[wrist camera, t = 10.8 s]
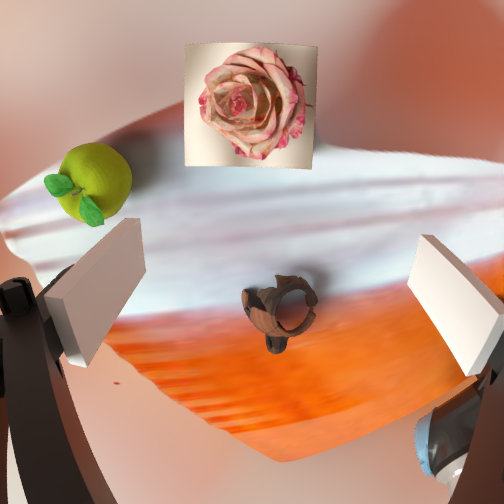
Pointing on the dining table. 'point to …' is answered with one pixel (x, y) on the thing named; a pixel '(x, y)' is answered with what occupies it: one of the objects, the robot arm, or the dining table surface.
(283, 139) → the flower
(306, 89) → the pedestal
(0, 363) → the robot arm
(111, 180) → the fruit
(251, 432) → the dining table surface
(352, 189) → the dining table surface
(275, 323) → the pottery mug
